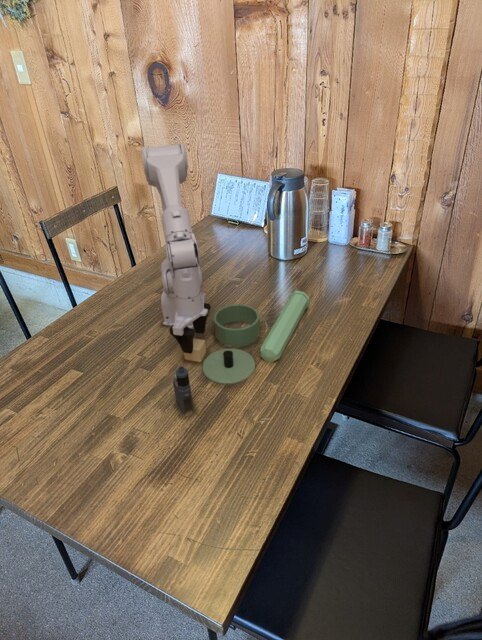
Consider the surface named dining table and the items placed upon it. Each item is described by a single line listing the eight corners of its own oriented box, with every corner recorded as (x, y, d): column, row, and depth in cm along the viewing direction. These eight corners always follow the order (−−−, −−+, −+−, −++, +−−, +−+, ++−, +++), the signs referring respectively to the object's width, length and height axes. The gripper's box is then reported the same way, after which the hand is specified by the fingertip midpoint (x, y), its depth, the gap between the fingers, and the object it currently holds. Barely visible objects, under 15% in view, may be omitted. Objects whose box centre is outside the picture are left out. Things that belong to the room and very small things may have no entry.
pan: (209, 344, 110) (207, 326, 107) (223, 319, 119) (222, 301, 116) (252, 351, 107) (252, 332, 104) (264, 324, 116) (264, 307, 113)
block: (185, 361, 106) (183, 347, 103) (191, 350, 109) (189, 337, 106) (200, 363, 104) (199, 350, 102) (206, 353, 108) (205, 340, 105)
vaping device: (184, 418, 91) (177, 374, 84) (175, 402, 95) (167, 358, 88) (196, 413, 92) (189, 369, 85) (186, 397, 95) (179, 354, 89)
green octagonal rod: (274, 345, 99) (305, 288, 117) (251, 348, 102) (286, 292, 121) (283, 366, 101) (313, 307, 120) (261, 368, 105) (293, 310, 123)
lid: (195, 381, 100) (193, 366, 97) (213, 348, 109) (212, 334, 106) (246, 390, 96) (246, 375, 94) (261, 356, 106) (260, 341, 103)
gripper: (192, 312, 89) (198, 364, 97) (216, 277, 101) (220, 326, 108) (160, 308, 91) (169, 359, 99) (187, 274, 103) (193, 322, 110)
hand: (194, 342), depth 104 cm, fingers open, 7 cm apart
